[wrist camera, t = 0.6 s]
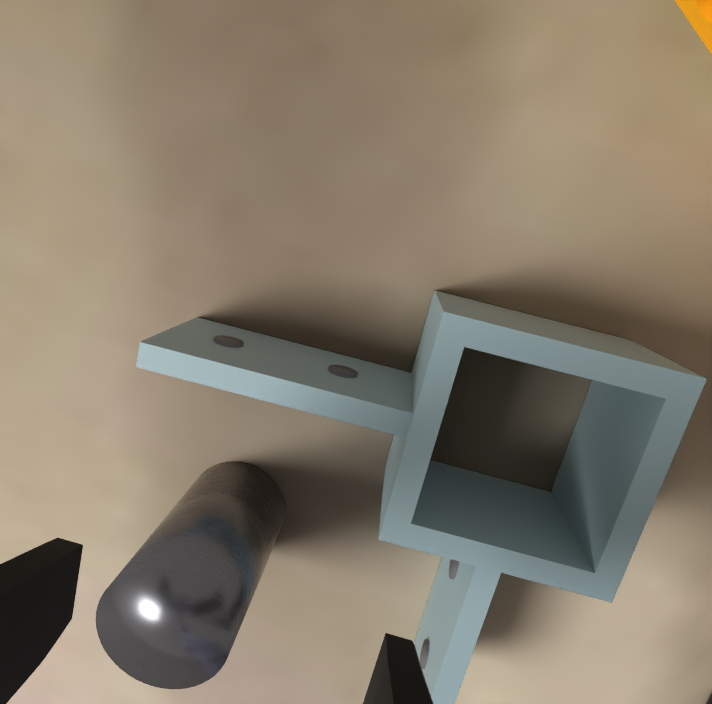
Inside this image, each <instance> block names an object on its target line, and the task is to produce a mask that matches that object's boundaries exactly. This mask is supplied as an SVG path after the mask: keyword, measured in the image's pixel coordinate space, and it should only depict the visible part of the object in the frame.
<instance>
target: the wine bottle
mask: <svg viewBox="0 0 712 704" xmlns="http://www.w3.org/2000/svg"><path fill="white" fill-rule="evenodd" d="M706 704H712V695H711V696H710V697H709V699H708V701H707V703H706Z"/></svg>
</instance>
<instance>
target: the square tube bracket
mask: <svg viewBox="0 0 712 704" xmlns="http://www.w3.org/2000/svg"><path fill="white" fill-rule="evenodd" d="M464 347H466V348H470V349H474V350H478V351H482V352H486V353H490V354H494V355H498V356H501V357H505V358H509V359H513V360H517V361H521V362H525V363H529V364H533V365H536V366H540V367H544V368H548V369H552V370H556V371H560V372H564V373H568V374H571V375H575V376H579V377H583V378H587V379H591V380H592V381H591V384H590V387H589V389H588V392H587V395H586V398H585V400H584V403H583V406H582V408H581V411H580V414H579V417H578V419H577V422H576V425H575V427H574V430H573V433H572V436H571V438H570V441H569V444H568V446H567V449H566V452H565V455H564V457H563V460H562V463H561V465H560V468H559V471H558V474H557V476H556V479H555V482H554V484H553V487H552V490H551V492H549V491H546V490H542V489H538V488H534V487H530V486H527V485H523V484H519V483H515V482H512V481H508V480H504V479H500V478H496V477H493V476H489V475H485V474H481V473H478V472H474V471H470V470H466V469H462V468H459V467H455V466H451V465H447V464H444V463H440V462H436V461H432V460H430V459H431V455H432V452H433V449H434V445H435V442H436V439H437V435H438V432H439V429H440V425H441V422H442V419H443V415H444V412H445V409H446V406H447V402H448V399H449V396H450V392H451V389H452V386H453V382H454V379H455V376H456V372H457V369H458V366H459V362H460V359H461V356H462V352H463V349H464ZM136 367H138V368H142V369H146V370H150V371H153V372H157V373H161V374H165V375H169V376H172V377H176V378H180V379H184V380H188V381H191V382H195V383H199V384H203V385H207V386H210V387H214V388H218V389H222V390H226V391H229V392H233V393H237V394H241V395H244V396H248V397H252V398H256V399H260V400H263V401H267V402H271V403H275V404H279V405H282V406H286V407H290V408H294V409H298V410H301V411H305V412H309V413H313V414H317V415H320V416H324V417H328V418H332V419H336V420H339V421H343V422H347V423H351V424H355V425H358V426H362V427H366V428H370V429H373V430H377V431H381V432H385V433H389V434H392V435H394V437H393V440H392V444H391V447H390V451H389V455H388V458H387V462H386V465H385V472H384V483H383V494H382V505H381V516H380V527H379V538H378V540H382V541H386V542H389V543H393V544H397V545H400V546H404V547H408V548H411V549H415V550H419V551H423V552H426V553H430V554H434V555H437V556H441V557H442V558H441V561H440V565H439V568H438V571H437V574H436V577H435V580H434V583H433V586H432V589H431V592H430V595H429V599H428V602H427V605H426V608H425V611H424V614H423V617H422V620H421V623H420V626H419V629H418V633H417V636H416V639H415V648H416V651H417V655H418V658H419V662H420V665H421V668H422V671H423V674H424V678H425V681H426V684H427V686H428V689H429V692H430V695H431V698H432V701H433V704H454V703H455V701H456V698H457V695H458V692H459V689H460V687H461V684H462V681H463V678H464V675H465V673H466V670H467V667H468V664H469V662H470V659H471V656H472V653H473V650H474V648H475V645H476V642H477V639H478V636H479V634H480V631H481V628H482V625H483V622H484V620H485V617H486V614H487V611H488V608H489V606H490V603H491V600H492V597H493V595H494V592H495V589H496V586H497V583H498V581H499V578H500V575H501V573H504V574H508V575H511V576H515V577H519V578H522V579H526V580H530V581H533V582H537V583H541V584H545V585H548V586H552V587H556V588H559V589H563V590H567V591H570V592H574V593H578V594H582V595H585V596H589V597H593V598H596V599H600V600H604V601H607V602H611V603H612V601H613V599H614V597H615V594H616V592H617V590H618V587H619V585H620V583H621V580H622V578H623V576H624V573H625V571H626V568H627V566H628V564H629V561H630V559H631V557H632V554H633V552H634V550H635V547H636V545H637V543H638V540H639V538H640V536H641V533H642V531H643V528H644V526H645V524H646V521H647V519H648V517H649V514H650V512H651V510H652V507H653V505H654V503H655V500H656V498H657V496H658V493H659V491H660V488H661V486H662V484H663V481H664V479H665V477H666V474H667V472H668V470H669V467H670V465H671V463H672V460H673V458H674V455H675V453H676V451H677V448H678V446H679V444H680V441H681V439H682V437H683V434H684V432H685V430H686V427H687V425H688V423H689V420H690V418H691V415H692V413H693V411H694V408H695V406H696V404H697V401H698V399H699V397H700V394H701V392H702V390H703V387H704V385H705V383H706V380H707V378H705V377H703V376H701V375H699V374H697V373H695V372H693V371H691V370H689V369H687V368H685V367H683V366H681V365H679V364H677V363H675V362H673V361H671V360H669V359H667V358H665V357H663V356H661V355H659V354H657V353H655V352H653V351H651V350H649V349H647V348H645V347H643V346H641V345H639V344H638V343H636V342H634V341H632V340H628V339H624V338H621V337H617V336H613V335H609V334H605V333H601V332H597V331H593V330H589V329H585V328H581V327H577V326H573V325H569V324H565V323H561V322H558V321H554V320H550V319H546V318H542V317H538V316H534V315H530V314H526V313H522V312H518V311H514V310H510V309H506V308H502V307H498V306H494V305H491V304H487V303H483V302H479V301H475V300H471V299H467V298H463V297H459V296H455V295H451V294H447V293H443V292H439V291H435V290H434V294H433V297H432V301H431V304H430V308H429V312H428V315H427V319H426V322H425V326H424V329H423V333H422V337H421V340H420V344H419V347H418V351H417V354H416V358H415V362H414V365H413V369H412V372H411V373H410V372H406V371H402V370H398V369H395V368H391V367H387V366H383V365H379V364H375V363H371V362H368V361H364V360H360V359H356V358H352V357H348V356H344V355H341V354H337V353H333V352H329V351H325V350H321V349H317V348H314V347H310V346H306V345H302V344H298V343H294V342H290V341H287V340H283V339H279V338H275V337H271V336H267V335H263V334H260V333H256V332H252V331H248V330H244V329H240V328H236V327H233V326H229V325H225V324H221V323H217V322H213V321H209V320H206V319H202V318H198V317H197V318H194V319H192V320H190V321H187V322H185V323H183V324H180V325H178V326H176V327H173V328H171V329H169V330H167V331H164V332H162V333H160V334H157V335H155V336H153V337H150V338H148V339H146V340H143V341H141V342H140V345H139V352H138V359H137V366H136Z"/></svg>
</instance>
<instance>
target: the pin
mask: <svg viewBox="0 0 712 704" xmlns="http://www.w3.org/2000/svg"><path fill="white" fill-rule="evenodd" d="M284 518H285V502H284V498H283V495H282V493H281V491H280V489H279V487H278V485H277V484H276V483H275V482H274V480H273V479H272V478H271V477H270V476H269V475H268V474H266V473H265V472H264V471H262V470H260V469H259V468H257V467H255V466H252V465H249V464H246V463H241V462H225V463H220V464H217V465H215V466H213V467H211V468H209V469H207V470H206V471H205V472H204V473H202V474H201V476H200V477H199V478H198V479H197V480H196V482H195V483H194V484H193V485H192V486H191V488H190V489H189V490H188V491H187V492H186V494H185V495H184V496H183V497H182V498H181V500H180V501H179V502H178V503H177V505H176V506H175V507H174V508H173V509H172V511H171V512H170V513H169V514H168V515H167V517H166V518H165V519H164V520H163V521H162V523H161V524H160V525H159V526H158V528H157V529H156V530H155V531H154V532H153V534H152V535H151V536H150V537H149V538H148V540H147V541H146V542H145V543H144V544H143V546H142V547H141V548H140V549H139V551H138V552H137V553H136V554H135V555H134V557H133V558H132V559H131V560H130V561H129V563H128V564H127V565H126V566H125V567H124V569H123V570H122V571H121V572H120V574H119V575H118V576H117V577H116V578H115V580H114V581H113V582H112V583H111V584H110V586H109V587H108V588H107V589H106V590H105V592H104V593H103V595H102V597H101V599H100V601H99V604H98V607H97V612H96V628H97V632H98V636H99V639H100V641H101V644H102V646H103V648H104V650H105V651H106V653H107V654H108V656H109V657H110V658H111V659H112V660H113V662H114V663H115V664H116V665H117V666H118V667H119V668H120V669H122V670H123V671H124V672H126V673H127V674H128V675H130V676H131V677H133V678H135V679H136V680H139V681H141V682H143V683H145V684H148V685H151V686H155V687H159V688H166V689H183V688H189V687H193V686H196V685H199V684H202V683H204V682H205V681H207V680H209V679H210V678H212V677H213V676H214V675H215V674H216V673H217V672H218V671H219V670H220V669H221V668H222V666H223V665H224V663H225V661H226V659H227V657H228V655H229V653H230V650H231V648H232V645H233V643H234V641H235V638H236V636H237V633H238V631H239V629H240V626H241V624H242V621H243V619H244V617H245V614H246V612H247V609H248V607H249V604H250V602H251V600H252V597H253V595H254V592H255V590H256V588H257V585H258V583H259V580H260V578H261V576H262V573H263V571H264V568H265V566H266V564H267V561H268V559H269V556H270V554H271V551H272V549H273V547H274V544H275V542H276V539H277V537H278V535H279V532H280V530H281V527H282V525H283V522H284Z"/></svg>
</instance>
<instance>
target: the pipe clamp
mask: <svg viewBox="0 0 712 704" xmlns="http://www.w3.org/2000/svg"><path fill="white" fill-rule="evenodd" d="M675 1H676V3H677V4H678V6H679V7H680V9H681V10H682V12H683V13H684V14H685V16H686V17H687V19H688V20H689V22H690V23H691V25H692V26H693V28H694V29H695V30H696V32H697V33H698V35H699V36H700V38H701V39H702V41H703V42H704V44H705V45H706V47H707V48H708V49H709V51H710V52H711V54H712V0H675Z"/></svg>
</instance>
